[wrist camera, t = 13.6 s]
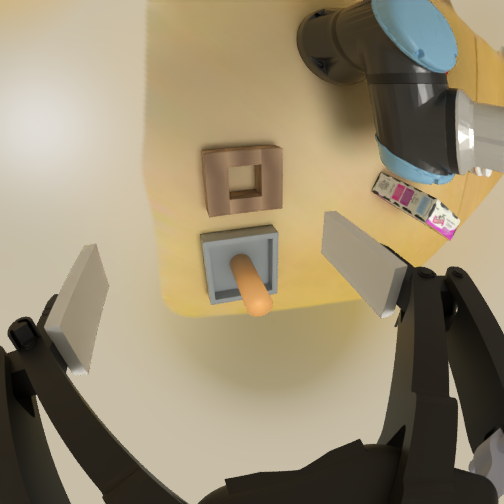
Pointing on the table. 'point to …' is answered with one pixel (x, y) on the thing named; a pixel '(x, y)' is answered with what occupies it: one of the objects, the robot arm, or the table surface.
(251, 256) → the tray
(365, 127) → the table surface
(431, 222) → the candy bar box
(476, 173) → the supplement bottle
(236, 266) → the pin
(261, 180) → the hitch block
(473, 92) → the table surface
